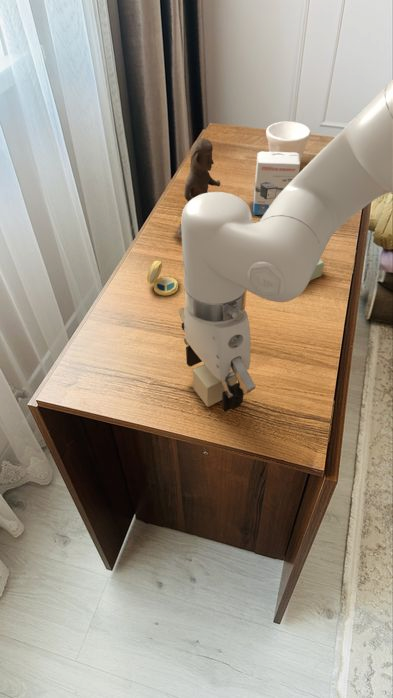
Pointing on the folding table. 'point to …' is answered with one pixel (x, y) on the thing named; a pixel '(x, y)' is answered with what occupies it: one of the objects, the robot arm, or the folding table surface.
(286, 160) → the ink box
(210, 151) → the figurine
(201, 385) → the beige block
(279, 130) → the cup
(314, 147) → the folding table surface
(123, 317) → the folding table surface
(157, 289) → the eyeshadow
